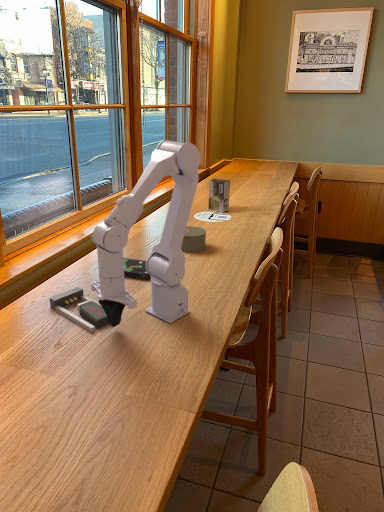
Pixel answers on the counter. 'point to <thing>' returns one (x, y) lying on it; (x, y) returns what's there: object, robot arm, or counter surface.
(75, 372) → the counter surface
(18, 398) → the counter surface
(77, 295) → the dock
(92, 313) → the usb drive
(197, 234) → the can
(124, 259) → the disk drive
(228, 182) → the coffee box
